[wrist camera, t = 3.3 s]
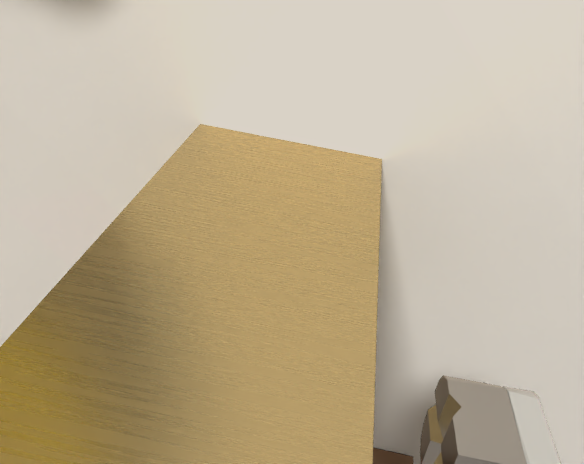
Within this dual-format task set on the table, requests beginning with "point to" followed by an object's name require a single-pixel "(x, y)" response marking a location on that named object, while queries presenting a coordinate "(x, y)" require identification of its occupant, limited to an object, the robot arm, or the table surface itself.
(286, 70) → the table surface
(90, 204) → the table surface
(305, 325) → the block
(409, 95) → the table surface
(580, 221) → the table surface
